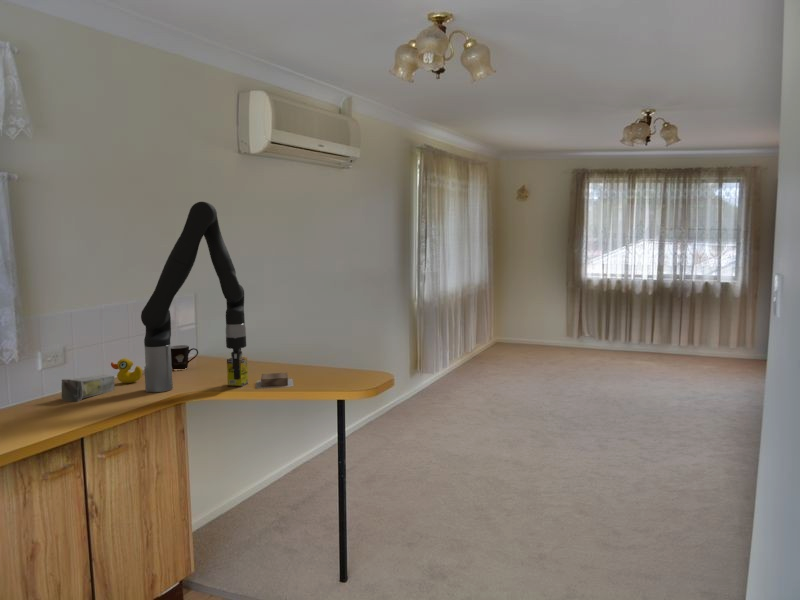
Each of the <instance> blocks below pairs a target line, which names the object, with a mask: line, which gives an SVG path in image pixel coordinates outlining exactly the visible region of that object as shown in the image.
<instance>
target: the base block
mask: <svg viewBox="0 0 800 600" xmlns="http://www.w3.org/2000/svg"><path fill="white" fill-rule="evenodd" d="M260 376H261V377H260V380H261V387H271V386H288V379H289V377H288V372H276V373H275V372H273V373H261V375H260Z"/></svg>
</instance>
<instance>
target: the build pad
mask: <svg viewBox="0 0 800 600" xmlns="http://www.w3.org/2000/svg"><path fill="white" fill-rule="evenodd" d="M289 387H294V380H293V378H288V386H271V387H261V379H259V380H256V384H255V389H257V390H258V389H271V388H272V389H273V388H289Z"/></svg>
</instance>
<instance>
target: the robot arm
mask: <svg viewBox="0 0 800 600" xmlns="http://www.w3.org/2000/svg"><path fill="white" fill-rule="evenodd" d="M203 237H204V239H205V242H206V245H207V248H208V251H209V252H208V253H209V257H210V260H211V263H212V266H213V269H214V270H215V273H216V276H217V278H218V281H219V284H220V288H221V292H222V294H223V297H224V298H225V300H226V301H225V302H226V310H225V345H226V348H227V349H232V351H231V353H230V358H232V364H233V367H232V368H233V370H234V379H235V380H237V379H240V363H241V362H240V361H239V359H240V360H241V357H243V351H242V349H244V348H246V347H247V332H246V331H247V330H246V322H245V310H244V309H245V289H244V287H243V286H242V285H241V284H240V282H239V280H238V277H237V274H236V273H237V272H236V268H235V265H234V263H233V261H232V258H231V256H230V253H229V250H228V248H227V246H226V244H225V242H224V238H223V235H222V232H221V227H220V223H219V220H218V212H217V209H216V207H214V206H213V205H212V204H210V203H209V202H207V201H198V202H195V203H194V204H193V205H192V206H191V207H190V209H189V212H188V215H187V219H186V220H185V224H184V226H183V229H182V231H181V234H180V235H179V237H178V239H177V241H175V244H174V246H173V248H172V249H171V251H170V254H169V255H168V257H167V260H166V261H165V264H164V266H163V268H162V270H161V273H160V276H159V278H158V281H157V283H156V286H155V289H154V291H153V292H152V295H151V296H150V298H149V300H148V301H147V303H146V304H145V306H144V307H143V309H142V311H141V312H140V313H141V314H140V320H141V322H142V324H143V326H145V335H144V340H143V343H144V357H145V358H144V359H145V363H144V364H145V366H144V384H145V393H148V392H149V393H161V392H168V391H171V390H172V389H174V387H173V383H174V382H173V370H172V364H171V346H172V344H171V337H172V322H171V321H172V320H171V311H170V308H171V305H172V302H173V300H174V298H175V296H176V294H177V293H178V292H179V291H180V289H181V288H182V287H183V285H184V284H185V282H186V280H187V279H188V277H189V275H190V273H191V271H192V268H193V267H194V265H195V262H196V259H197V255H198V253H199V252H198V251H199V247H200V244H201V241H202V239H203ZM235 364H238V366H235Z"/></svg>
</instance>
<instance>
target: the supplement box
mask: <svg viewBox="0 0 800 600" xmlns="http://www.w3.org/2000/svg"><path fill="white" fill-rule="evenodd" d="M239 361H240V362H241V363H240V379H237V380H235V379H234V370H233V368H232V367H233V364H232V357H230V358H226V371H227V372H226V375H227V387H229V388H230V387H231V388H242V387H244V386H246V385H249V378H248V377H249V375H248V356H242V357H241V360H240V359H239ZM235 366H238V364H235Z"/></svg>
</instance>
